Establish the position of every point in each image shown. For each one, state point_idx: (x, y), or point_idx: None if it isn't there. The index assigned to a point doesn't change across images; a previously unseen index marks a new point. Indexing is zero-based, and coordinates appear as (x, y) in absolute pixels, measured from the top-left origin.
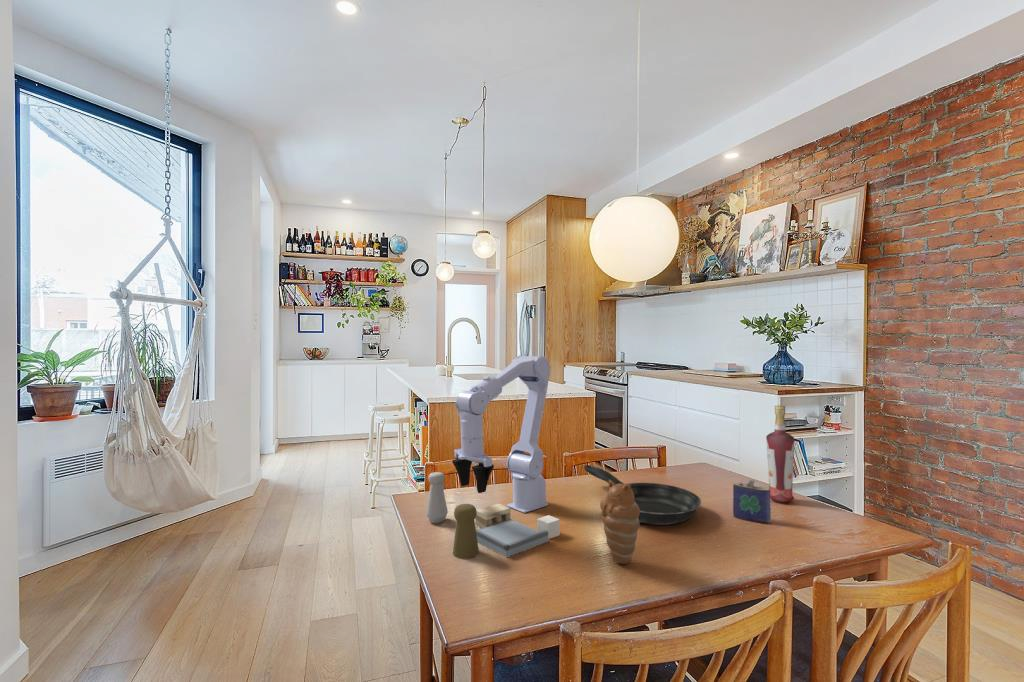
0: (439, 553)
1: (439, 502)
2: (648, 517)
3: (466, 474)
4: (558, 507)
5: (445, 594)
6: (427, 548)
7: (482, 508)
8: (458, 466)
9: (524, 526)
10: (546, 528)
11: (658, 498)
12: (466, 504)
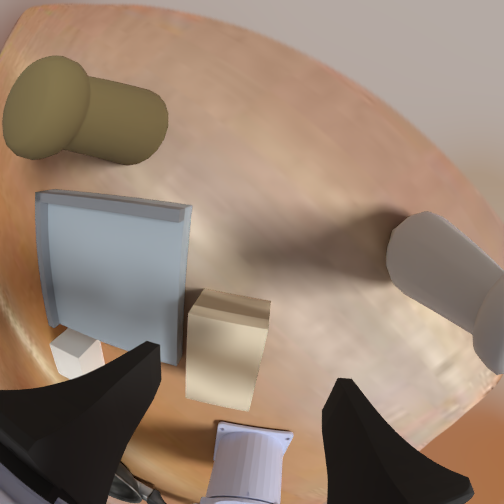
0: (190, 66)
1: (424, 257)
2: None
3: (338, 455)
4: (192, 456)
5: (67, 18)
6: (250, 60)
7: (258, 356)
8: (387, 484)
9: (115, 341)
10: (61, 338)
11: (115, 482)
12: (18, 115)
